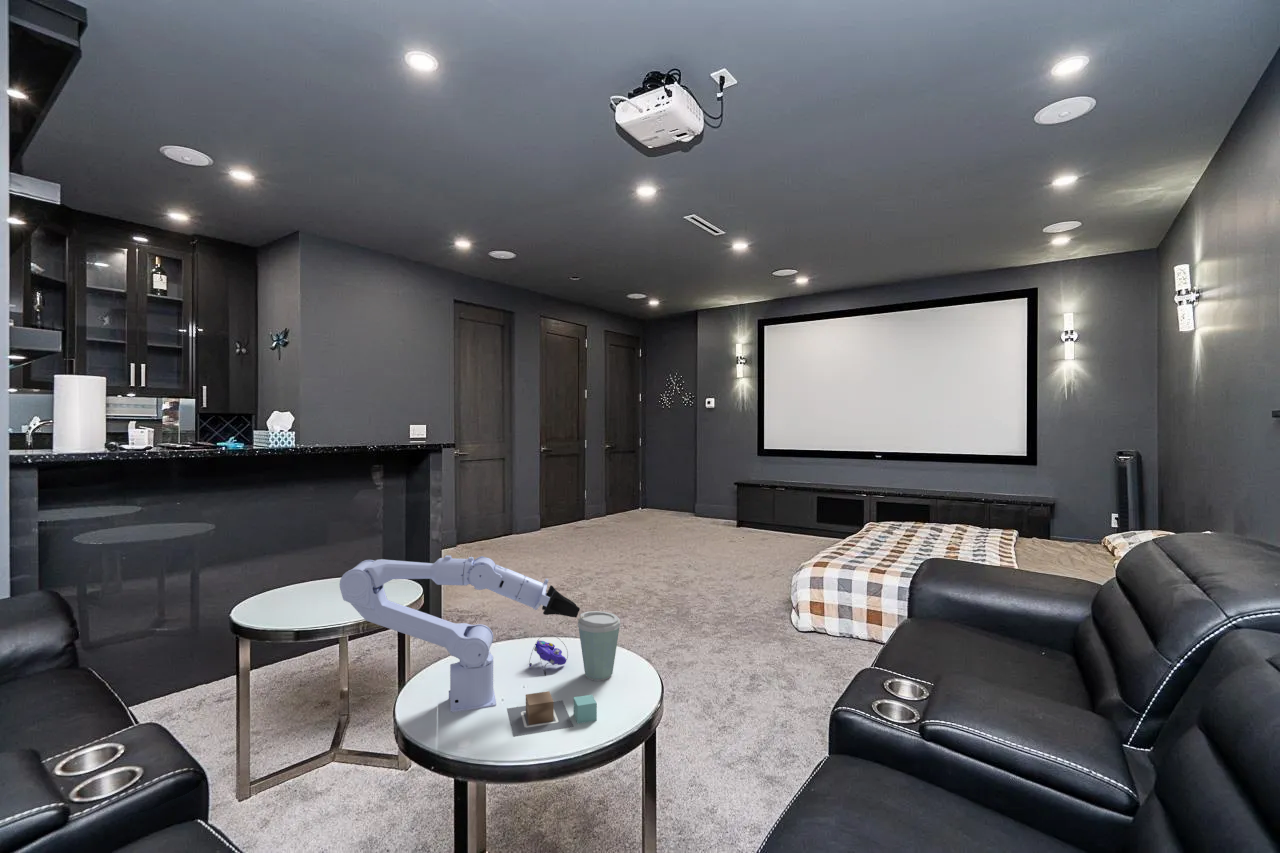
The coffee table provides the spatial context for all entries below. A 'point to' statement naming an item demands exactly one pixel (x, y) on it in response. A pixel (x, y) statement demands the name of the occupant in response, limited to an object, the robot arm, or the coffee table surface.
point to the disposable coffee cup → (598, 643)
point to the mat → (523, 727)
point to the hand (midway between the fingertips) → (576, 610)
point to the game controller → (549, 653)
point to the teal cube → (585, 709)
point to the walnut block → (539, 708)
